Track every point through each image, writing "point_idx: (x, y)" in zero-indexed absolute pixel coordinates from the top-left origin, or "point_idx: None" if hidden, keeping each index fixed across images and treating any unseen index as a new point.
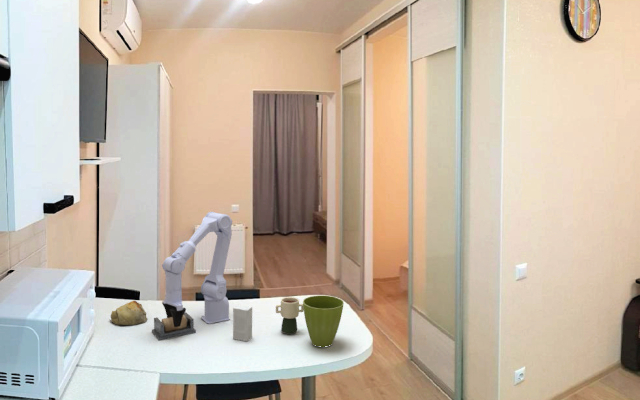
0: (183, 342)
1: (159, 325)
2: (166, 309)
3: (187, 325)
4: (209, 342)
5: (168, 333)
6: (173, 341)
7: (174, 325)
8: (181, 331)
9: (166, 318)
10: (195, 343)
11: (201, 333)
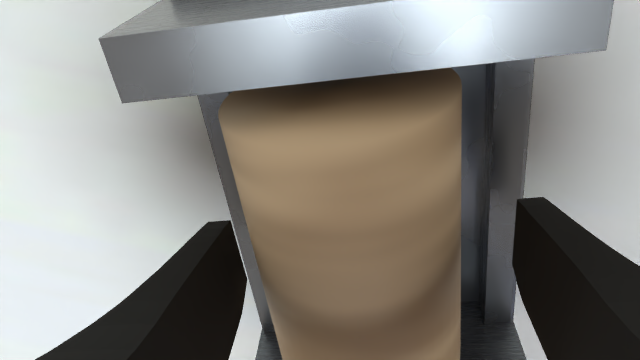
0: (66, 196)
1: (188, 20)
2: (609, 325)
3: None
4: (39, 356)
5: (203, 106)
6: (109, 114)
7: (195, 235)
8: (244, 245)
9: (342, 203)
10: (29, 274)
11: (243, 356)
